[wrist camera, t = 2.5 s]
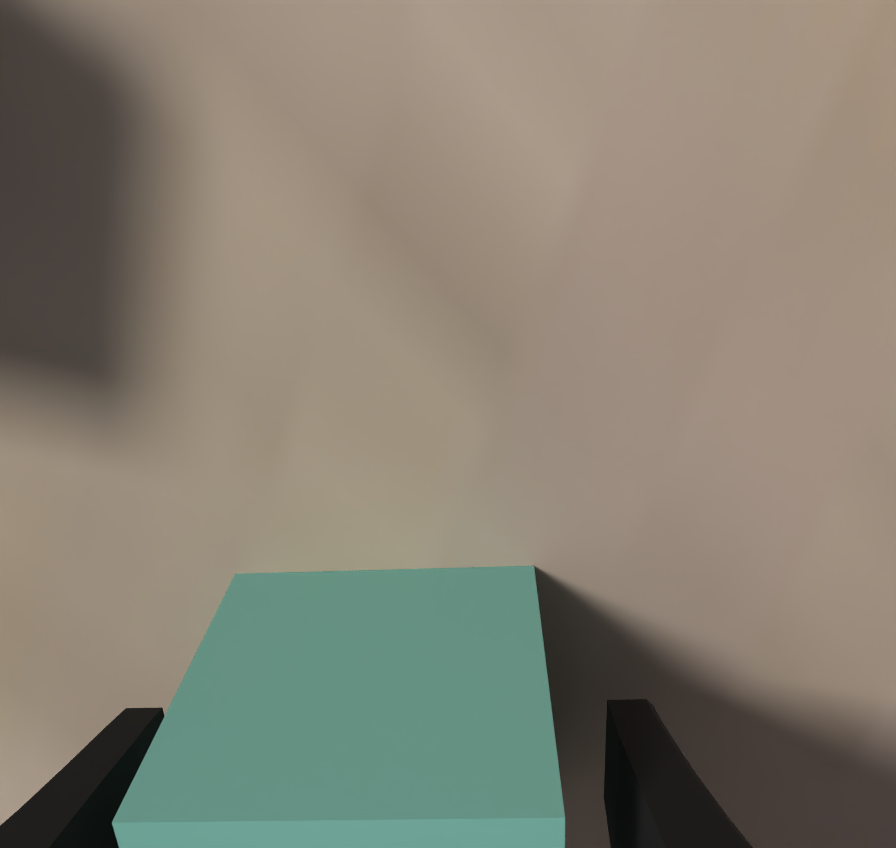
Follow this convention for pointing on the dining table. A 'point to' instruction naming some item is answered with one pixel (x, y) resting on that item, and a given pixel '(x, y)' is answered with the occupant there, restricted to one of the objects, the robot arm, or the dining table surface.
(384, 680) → the teal block
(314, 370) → the dining table surface
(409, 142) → the dining table surface
